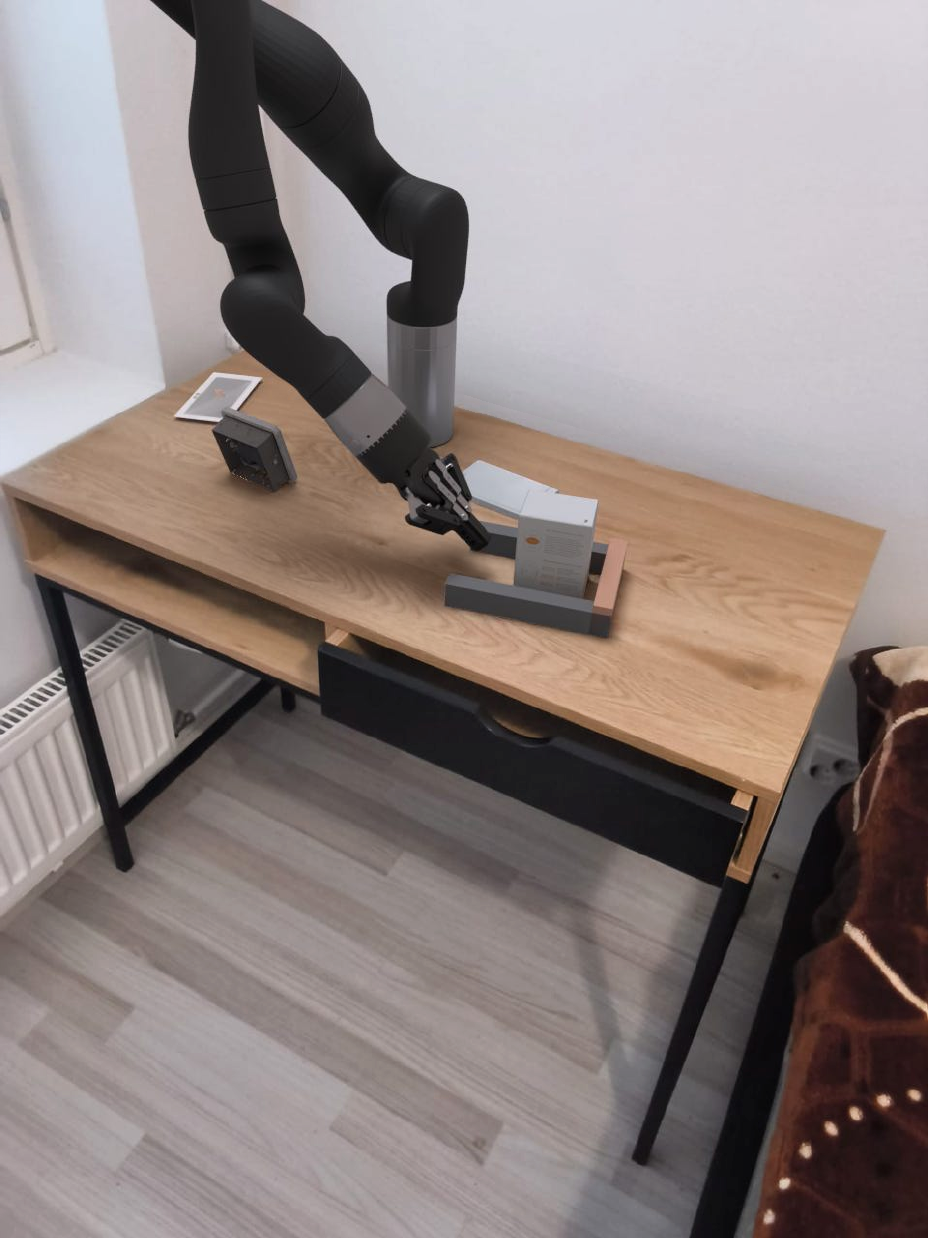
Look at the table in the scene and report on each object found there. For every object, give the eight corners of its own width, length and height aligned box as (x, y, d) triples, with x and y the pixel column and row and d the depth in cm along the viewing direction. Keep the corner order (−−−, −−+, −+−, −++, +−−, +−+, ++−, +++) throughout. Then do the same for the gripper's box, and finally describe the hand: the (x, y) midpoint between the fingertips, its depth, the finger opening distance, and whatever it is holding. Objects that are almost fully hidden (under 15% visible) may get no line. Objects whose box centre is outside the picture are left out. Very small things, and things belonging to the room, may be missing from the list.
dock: (474, 540, 110) (475, 512, 108) (623, 568, 107) (628, 540, 105) (444, 605, 101) (445, 576, 98) (607, 638, 97) (612, 609, 95)
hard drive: (444, 484, 118) (527, 516, 113) (479, 458, 123) (560, 487, 118) (444, 495, 119) (526, 527, 114) (478, 469, 124) (558, 498, 119)
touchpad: (263, 384, 141) (261, 370, 140) (227, 429, 130) (225, 415, 128) (214, 378, 142) (212, 365, 141) (174, 423, 131) (172, 409, 129)
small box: (588, 576, 106) (601, 498, 99) (581, 605, 102) (594, 526, 95) (520, 564, 107) (528, 487, 100) (511, 592, 103) (518, 513, 96)
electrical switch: (299, 482, 119) (289, 420, 113) (273, 502, 116) (260, 440, 109) (246, 460, 123) (232, 399, 116) (219, 479, 120) (203, 418, 113)
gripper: (381, 439, 89) (495, 563, 95) (420, 382, 99) (521, 498, 105) (332, 477, 94) (444, 594, 100) (374, 419, 104) (474, 528, 109)
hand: (484, 544), depth 102 cm, fingers closed
